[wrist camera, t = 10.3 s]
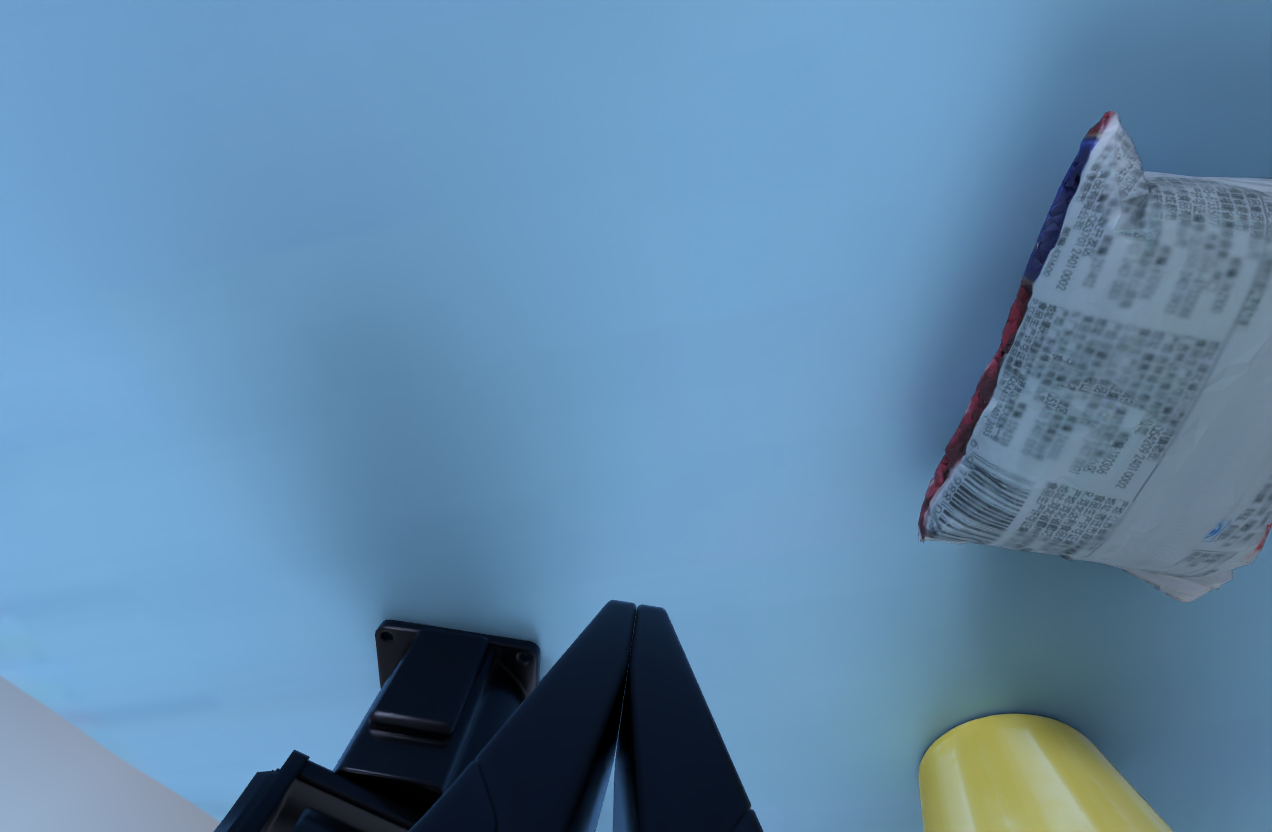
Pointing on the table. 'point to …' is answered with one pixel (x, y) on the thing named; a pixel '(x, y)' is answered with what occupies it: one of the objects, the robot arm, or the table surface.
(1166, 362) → the packaged food
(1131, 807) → the flower pot
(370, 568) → the table surface
